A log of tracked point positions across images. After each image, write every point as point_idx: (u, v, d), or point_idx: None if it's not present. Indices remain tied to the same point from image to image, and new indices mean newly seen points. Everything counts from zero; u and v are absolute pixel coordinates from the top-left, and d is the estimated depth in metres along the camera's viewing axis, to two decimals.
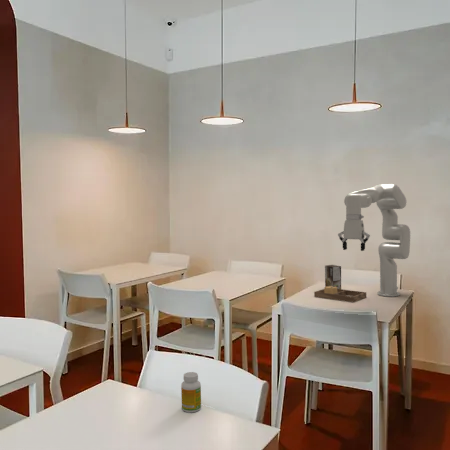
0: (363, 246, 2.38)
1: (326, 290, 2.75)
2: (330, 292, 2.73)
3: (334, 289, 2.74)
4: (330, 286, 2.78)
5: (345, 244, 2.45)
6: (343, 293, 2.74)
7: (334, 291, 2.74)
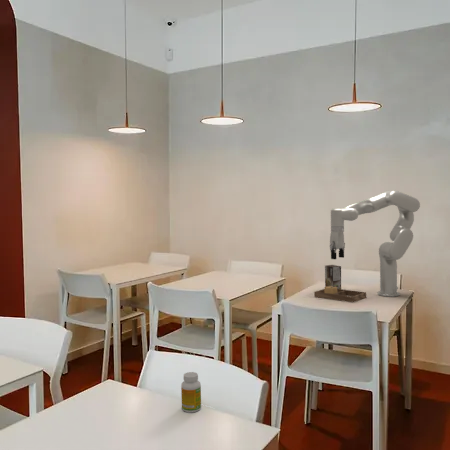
0: None
1: (326, 290, 2.75)
2: (330, 292, 2.73)
3: (334, 289, 2.74)
4: (330, 286, 2.78)
5: None
6: (343, 293, 2.74)
7: (334, 291, 2.74)
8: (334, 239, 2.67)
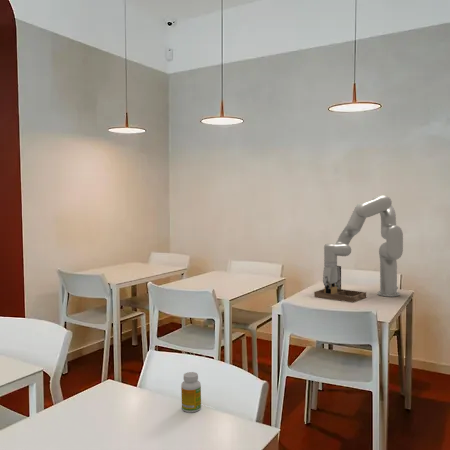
0: None
1: None
2: None
3: (334, 289, 2.74)
4: (330, 286, 2.78)
5: None
6: (343, 293, 2.74)
7: (334, 291, 2.74)
8: (327, 274, 2.72)
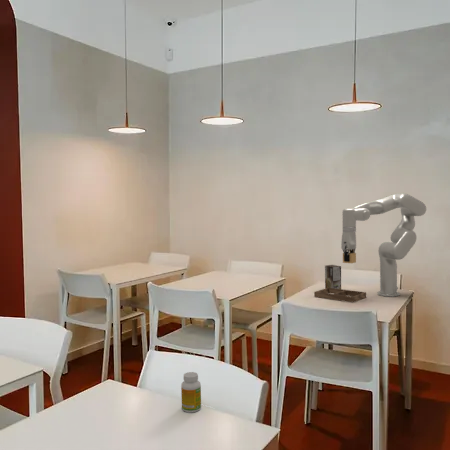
0: None
1: None
2: None
3: (353, 255, 2.65)
4: None
5: None
6: (343, 293, 2.74)
7: (353, 257, 2.65)
8: (346, 240, 2.62)
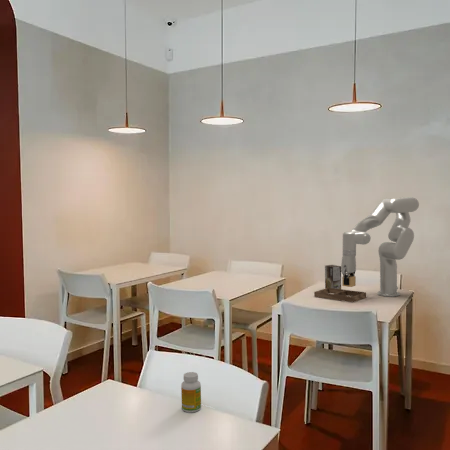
0: None
1: None
2: None
3: (352, 278, 2.65)
4: None
5: None
6: (343, 293, 2.74)
7: (352, 280, 2.65)
8: (346, 263, 2.63)
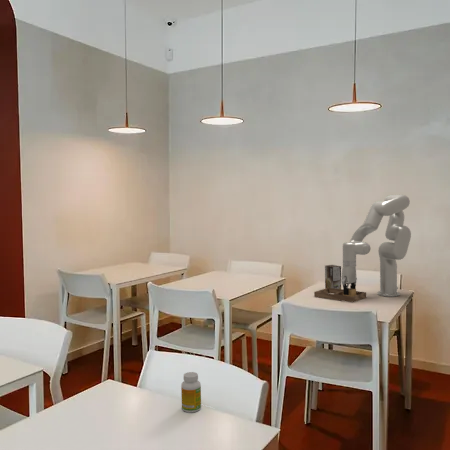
0: (354, 288, 2.71)
1: None
2: (349, 294, 2.65)
3: (353, 291, 2.66)
4: (349, 288, 2.70)
5: None
6: None
7: (353, 293, 2.66)
8: (346, 274, 2.63)
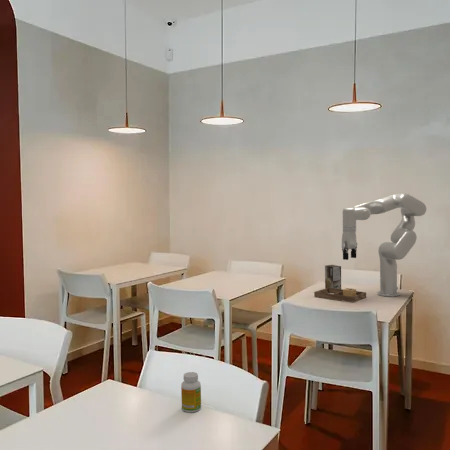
0: None
1: (345, 292, 2.67)
2: (349, 294, 2.65)
3: (353, 291, 2.66)
4: (349, 288, 2.70)
5: None
6: None
7: (353, 293, 2.66)
8: (346, 239, 2.62)
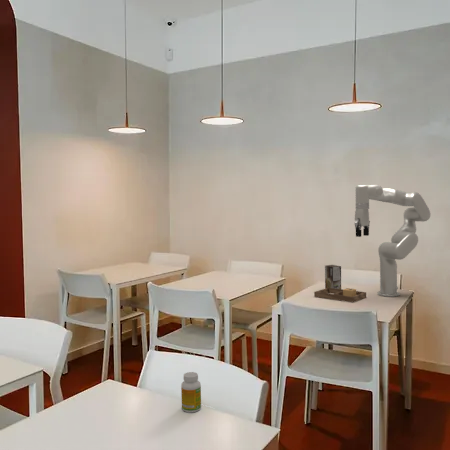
0: None
1: (345, 292, 2.67)
2: (349, 294, 2.65)
3: (353, 291, 2.66)
4: (349, 288, 2.70)
5: None
6: None
7: (353, 293, 2.66)
8: (359, 216, 2.62)
